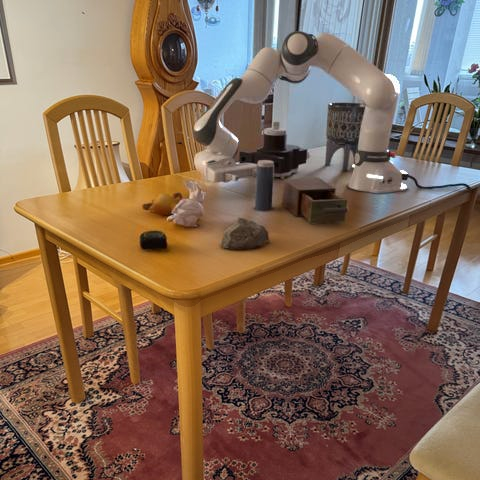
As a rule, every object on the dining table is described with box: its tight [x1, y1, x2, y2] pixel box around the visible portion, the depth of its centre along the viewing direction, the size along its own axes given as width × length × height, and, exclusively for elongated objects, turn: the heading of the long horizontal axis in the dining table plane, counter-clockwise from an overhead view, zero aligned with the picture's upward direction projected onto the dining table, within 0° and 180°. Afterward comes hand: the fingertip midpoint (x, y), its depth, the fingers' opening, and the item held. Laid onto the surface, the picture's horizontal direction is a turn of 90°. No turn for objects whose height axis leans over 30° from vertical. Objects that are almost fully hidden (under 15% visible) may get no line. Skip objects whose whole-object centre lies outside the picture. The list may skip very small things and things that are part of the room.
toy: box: [141, 192, 183, 216], centre depth 144 cm, size 11×6×15 cm
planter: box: [324, 102, 366, 172], centre depth 204 cm, size 20×20×26 cm
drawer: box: [299, 191, 349, 225], centre depth 138 cm, size 18×11×7 cm, turn 14°
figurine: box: [166, 178, 207, 227], centre depth 132 cm, size 8×15×13 cm, turn 145°
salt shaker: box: [254, 160, 275, 212], centre depth 147 cm, size 6×6×15 cm
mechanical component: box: [238, 121, 311, 180], centre depth 191 cm, size 22×21×30 cm
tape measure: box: [139, 229, 168, 251], centre depth 117 cm, size 7×7×4 cm
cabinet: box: [282, 177, 337, 218], centre depth 149 cm, size 14×12×8 cm
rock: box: [220, 216, 270, 251], centre depth 120 cm, size 13×9×6 cm, turn 131°
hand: (247, 176), depth 153 cm, fingers open, 8 cm apart
